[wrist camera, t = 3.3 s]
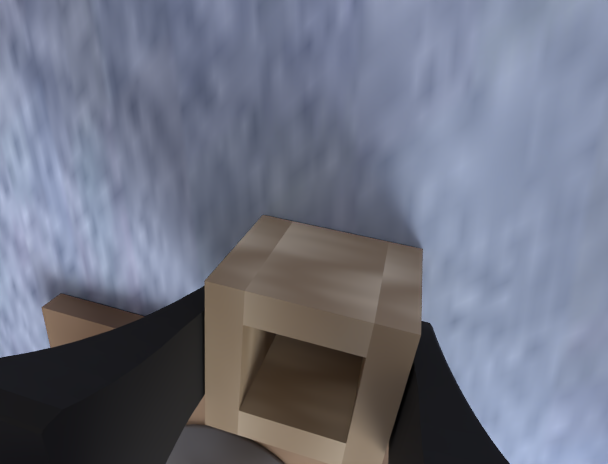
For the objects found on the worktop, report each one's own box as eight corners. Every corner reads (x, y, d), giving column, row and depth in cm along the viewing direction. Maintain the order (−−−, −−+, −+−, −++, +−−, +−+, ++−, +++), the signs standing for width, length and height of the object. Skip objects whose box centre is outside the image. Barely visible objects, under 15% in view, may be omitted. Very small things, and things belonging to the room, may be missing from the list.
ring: (422, 248, 12) (420, 335, 9) (388, 372, 15) (377, 479, 11) (262, 214, 13) (204, 280, 10) (254, 336, 16) (204, 424, 12)
